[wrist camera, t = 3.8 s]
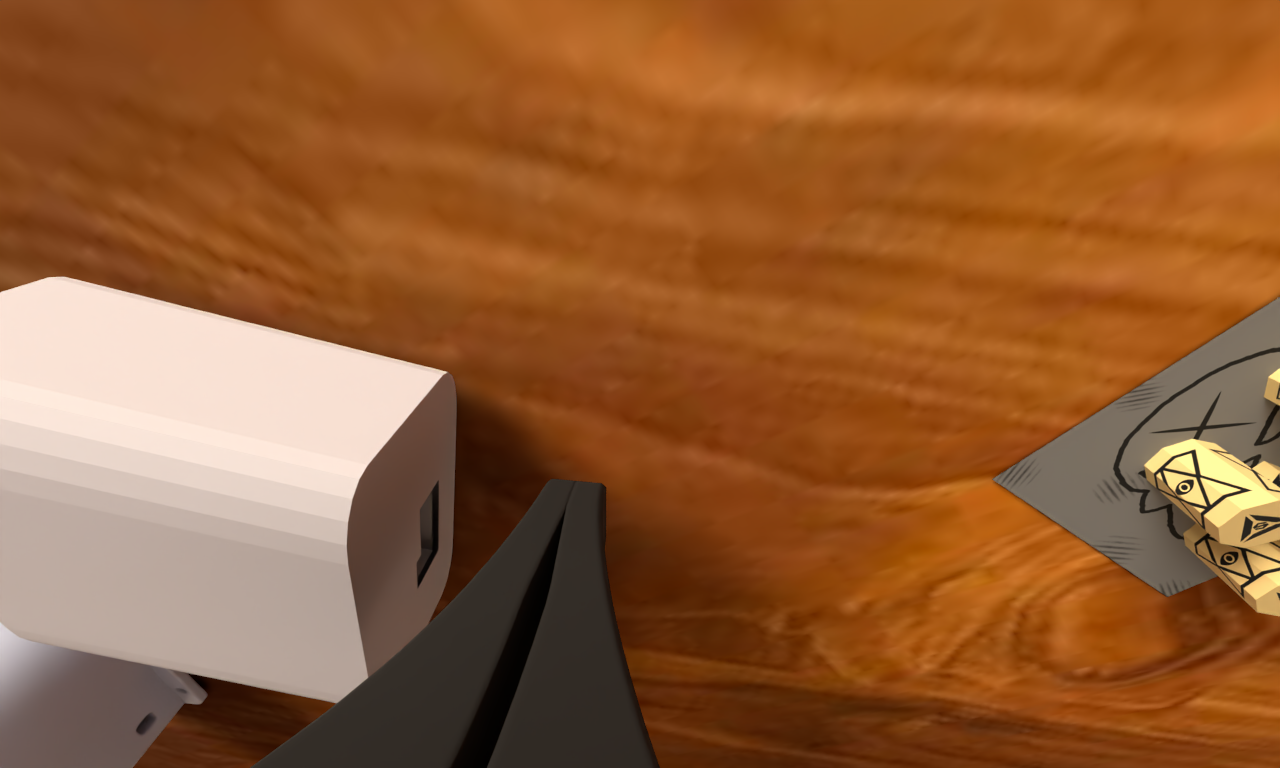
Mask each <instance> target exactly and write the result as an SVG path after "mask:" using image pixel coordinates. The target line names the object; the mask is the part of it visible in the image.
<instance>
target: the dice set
mask: <svg viewBox="0 0 1280 768" xmlns="http://www.w3.org/2000/svg"><path fill="white" fill-rule="evenodd" d="M1270 380H1271V382H1272V385H1269V386H1268V387H1269V389H1270V392H1271V393H1269V392H1267V393H1266V394H1267V396H1268V399H1269V401H1270V402H1272V403H1274V404H1276V405H1277V406H1279V407H1280V373H1279V374H1278V377H1277V378H1276V377H1271V378H1270ZM1145 468H1146V470H1147V472H1146V474H1147V475H1148V478H1147V479H1148V481H1149V483H1150V484H1151V485H1152V486H1153V487H1155V488H1156V489H1157V490H1158V491H1159V492H1160V493H1161V494H1163V495H1164V496H1165V497H1166V498H1167V499H1168V500H1170V501H1171V502H1172V503H1173V504H1174V505H1175V506H1176V507H1178V508H1179V509H1180V510H1181V511H1182V512H1183V513H1185V514H1186V515H1187V516H1188V517H1189V518H1190V519H1191V520H1193V521H1194V522H1195V523H1196V524H1197V525H1196V527H1195V529H1192V528H1191V529H1190V533H1186V534H1185V537H1186V539H1185V541H1186V543H1187V544H1186V546H1187V548H1188V549H1189V550H1190V551H1191V552H1192V553H1193V554H1194V555H1195V556H1196V557H1197V558H1198V559H1199V560H1200V561H1202V562H1203V563H1204V564H1205V565H1206V566H1207V567H1208V568H1209V569H1210V570H1211V571H1212V572H1213V573H1214V574H1216V575H1217V576H1219V577H1220V578H1221V579H1222V580H1223V581H1224V582H1225V583H1226V584H1227V585H1228V586H1229V587H1231V588H1232V589H1233V590H1234V591H1235V592H1236V593H1237V594H1238V595H1239V596H1240V597H1241V598H1242V599H1243V600H1245V601H1246V602H1247V603H1248V604H1249V605H1250V606H1251V607H1252V608H1253V609H1254V610H1255V611H1256V612H1259V613H1264V614H1270V615H1275V616H1280V467H1279V466H1277V465H1272V464H1270V463H1269V464H1265V463H1262V464H1261V467H1260V469H1255V468H1254V469H1253V468H1252V467H1250V466H1249V465H1247V464H1246V463H1244V462H1243V461H1241V460H1240V459H1239V458H1237V457H1236V456H1234V455H1233V454H1231V453H1230V452H1228V451H1227V450H1225V449H1224V448H1222V447H1221V446H1220V445H1218V444H1215V443H1210V442H1206V441H1200V440H1194V439H1193V440H1192V441H1190V442H1189V443H1188V444H1187V445H1182V444H1178V445H1177V446H1175V447H1174V448H1173V449H1165V448H1164V449H1163V453H1162V454H1158V455H1157V459H1156V460H1153V459H1152V460H1151V465H1146V466H1145Z"/></svg>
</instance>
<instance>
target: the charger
mask: <svg viewBox="0 0 1280 768" xmlns="http://www.w3.org/2000/svg"><path fill="white" fill-rule="evenodd" d="M456 418H457V396H456V388H455V382H454V380H453V377H452V375H451V374H450V373H448V372H445V371H441V370H437V369H433V368H429V367H425V366H421V365H417V364H413V363H409V362H405V361H401V360H397V359H393V358H389V357H385V356H381V355H377V354H373V353H369V352H365V351H361V350H357V349H353V348H349V347H345V346H341V345H337V344H333V343H329V342H325V341H321V340H317V339H313V338H309V337H305V336H301V335H297V334H293V333H289V332H285V331H281V330H277V329H273V328H269V327H265V326H261V325H257V324H253V323H249V322H244V321H240V320H236V319H232V318H228V317H224V316H220V315H216V314H212V313H208V312H204V311H200V310H196V309H192V308H188V307H184V306H180V305H176V304H172V303H168V302H164V301H160V300H156V299H152V298H148V297H144V296H140V295H136V294H132V293H128V292H124V291H120V290H116V289H112V288H108V287H104V286H100V285H96V284H92V283H88V282H84V281H80V280H76V279H72V278H68V277H49V278H45V279H42V280H39V281H36V282H32V283H29V284H26V285H23V286H19V287H16V288H13V289H10V290H6V291H3V292H0V622H1V623H2V624H3V625H4V626H5V627H6V628H7V629H8V630H10V631H11V632H13V633H14V634H15V635H17V636H18V637H20V638H23V639H26V640H30V641H33V642H37V643H42V644H47V645H52V646H57V647H62V648H67V649H72V650H76V651H81V652H86V653H91V654H96V655H101V656H106V657H111V658H116V659H121V660H126V661H131V662H136V663H141V664H146V665H151V666H156V667H160V668H165V669H170V670H175V671H180V672H185V673H190V674H195V675H200V676H205V677H210V678H215V679H220V680H225V681H230V682H235V683H239V684H244V685H249V686H254V687H259V688H264V689H269V690H274V691H279V692H284V693H289V694H294V695H299V696H304V697H309V698H314V699H319V700H323V701H328V702H333V703H338V702H339V701H340V700H341V699H343V698H344V697H345V696H346V695H348V694H349V693H350V692H351V691H352V690H354V689H355V688H356V687H357V686H359V685H360V684H361V683H362V682H364V681H365V680H366V679H367V678H368V677H370V676H371V675H372V674H373V673H375V672H376V671H377V670H378V669H379V668H381V667H382V666H383V665H384V664H385V663H386V662H388V661H389V660H390V659H391V658H392V657H393V656H394V655H396V654H397V653H398V652H399V651H400V650H401V649H402V648H403V647H404V646H405V645H407V644H408V643H409V642H410V641H411V640H412V639H413V638H414V637H415V636H416V635H417V634H418V633H420V632H421V631H422V630H423V629H424V628H425V627H426V626H427V625H428V623H429V621H430V619H431V617H432V615H433V613H434V610H435V608H436V606H437V604H438V602H439V600H440V598H441V596H442V593H443V591H444V588H445V585H446V582H447V578H448V574H449V570H450V565H451V558H452V548H453V521H454V486H455V452H456Z"/></svg>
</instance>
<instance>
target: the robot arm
mask: <svg viewBox="0 0 1280 768" xmlns="http://www.w3.org/2000/svg"><path fill="white" fill-rule="evenodd" d="M605 542H606V487H605V486H604V485H603V484H602V483H592V482H581V481H570V480H559V479H551V480H549V481H548V482H547V483H546V485H545V486H544V488H543V490H542V491H541V493H540V494H539V496H538V497H537V498H536V500H535V501H534V503H533V504H532V506H531V507H530V508H529V510H528V511H527V513H526V514H525V515H524V517H523V518H522V519H521V521H520V522H519V523H518V525H517V526H516V527H515V529H514V530H513V531H512V532H511V534H510V535H509V536H508V537H507V539H506V540H505V541H504V542H503V544H502V545H501V546H500V548H499V549H498V550H497V551H496V552H495V554H494V555H493V556H492V557H491V558H490V559H489V561H488V562H487V563H486V564H485V565H484V566H483V567H482V569H481V570H480V571H479V572H478V573H477V574H476V575H475V577H474V578H473V579H472V580H471V581H470V582H469V583H468V584H467V585H466V587H465V588H464V589H463V590H462V591H461V592H460V593H459V594H458V595H457V596H456V597H455V598H454V599H453V600H452V601H451V602H450V603H449V604H448V605H447V606H446V607H445V608H444V609H443V610H442V611H441V612H440V613H439V614H438V615H437V616H436V617H435V618H434V619H433V620H432V621H431V622H430V623H429V624H428V625H427V626H426V627H425V628H424V629H423V630H422V631H421V632H420V633H418V634H417V635H416V636H415V637H414V638H413V639H412V640H411V641H410V642H409V643H408V644H407V645H405V646H404V647H403V648H402V649H401V650H400V651H399V652H398V653H397V654H396V655H394V656H393V657H392V658H391V659H390V660H389V661H388V662H386V663H385V664H384V665H383V666H382V667H381V668H379V669H378V670H377V671H376V672H375V673H373V674H372V675H371V676H370V677H368V678H367V679H366V680H365V681H364V682H362V683H361V684H360V685H359V686H357V687H356V688H355V689H354V690H352V691H351V692H350V693H349V694H348V695H346V696H345V697H344V698H343V699H341V700H340V701H339V702H338V703H337V704H335V705H334V706H333V707H332V708H330V709H329V710H328V711H326V712H325V713H324V714H323V715H321V716H320V717H319V718H317V719H316V720H315V721H313V722H312V723H311V724H309V725H308V726H307V727H305V728H304V729H302V730H301V731H300V732H298V733H297V734H296V735H294V736H293V737H292V738H290V739H289V740H287V741H286V742H285V743H283V744H282V745H281V746H279V747H278V748H277V749H275V750H274V751H272V752H271V753H270V754H268V755H267V756H266V757H264V758H263V759H262V760H260V761H259V762H257V763H256V764H255V765H253V766H252V767H250V768H660V767H659V764H658V761H657V758H656V755H655V752H654V749H653V747H652V744H651V741H650V738H649V735H648V732H647V729H646V726H645V723H644V719H643V716H642V713H641V709H640V706H639V703H638V700H637V696H636V693H635V690H634V686H633V683H632V680H631V677H630V673H629V669H628V666H627V662H626V658H625V654H624V650H623V647H622V642H621V638H620V634H619V630H618V626H617V621H616V616H615V612H614V607H613V602H612V596H611V591H610V585H609V579H608V572H607V565H606V557H605ZM207 696H208V694H207V692H206V691H205V690H204V689H203V688H202V687H201V686H200V685H199V684H198V683H197V682H196V681H195V680H194V679H193V678H192V677H191V676H190V675H189V674H188V673H185V672H180V671H175V670H170V669H165V668H160V667H156V666H151V665H146V664H141V663H136V662H131V661H126V660H121V659H116V658H111V657H106V656H101V655H96V654H91V653H86V652H81V651H76V650H72V649H67V648H62V647H57V646H52V645H47V644H42V643H37V642H33V641H30V640H26V639H23V638H20V637H18V636H17V635H15V634H14V633H13V632H11V631H10V630H8V629H7V628H6V627H5V626H4V625H3V624H2V623H1V622H0V768H133V766H134V765H135V764H136V763H137V761H138V760H139V759H140V758H141V756H142V755H143V754H144V753H145V752H146V750H147V749H148V748H149V747H150V745H151V744H152V743H153V742H154V740H155V739H156V738H157V737H158V735H159V734H160V733H161V732H162V730H163V729H164V728H165V727H166V726H167V724H168V723H169V722H170V721H171V719H172V718H173V717H174V716H175V714H176V713H177V712H178V711H179V709H180V708H181V707H182V706H183V704H184V703H189V704H201V703H203V701H204V700H205V699H206V697H207Z"/></svg>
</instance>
